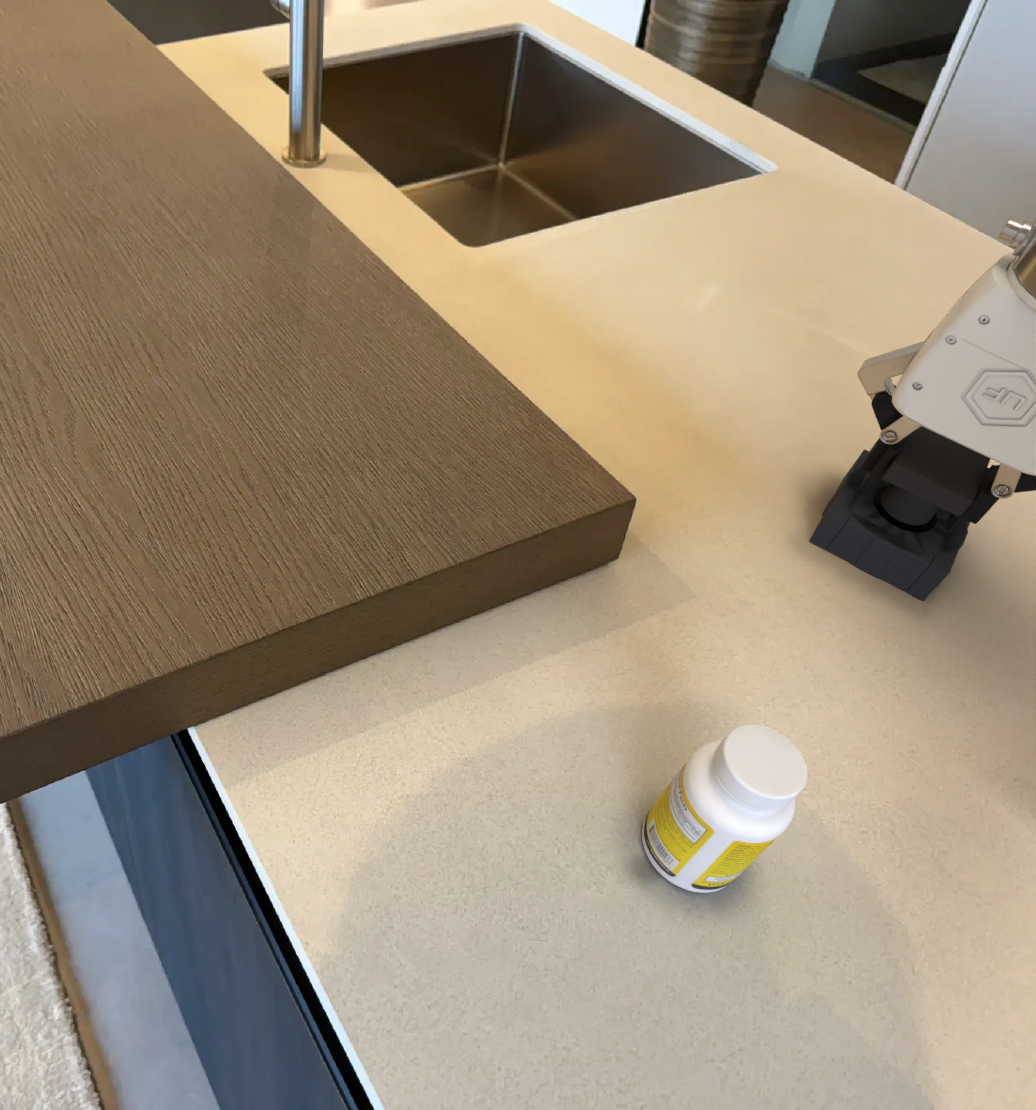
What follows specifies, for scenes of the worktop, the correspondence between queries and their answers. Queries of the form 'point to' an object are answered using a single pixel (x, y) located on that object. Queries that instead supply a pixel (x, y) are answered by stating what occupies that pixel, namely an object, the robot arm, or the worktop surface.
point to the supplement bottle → (724, 808)
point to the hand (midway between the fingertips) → (912, 497)
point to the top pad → (931, 478)
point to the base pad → (886, 537)
